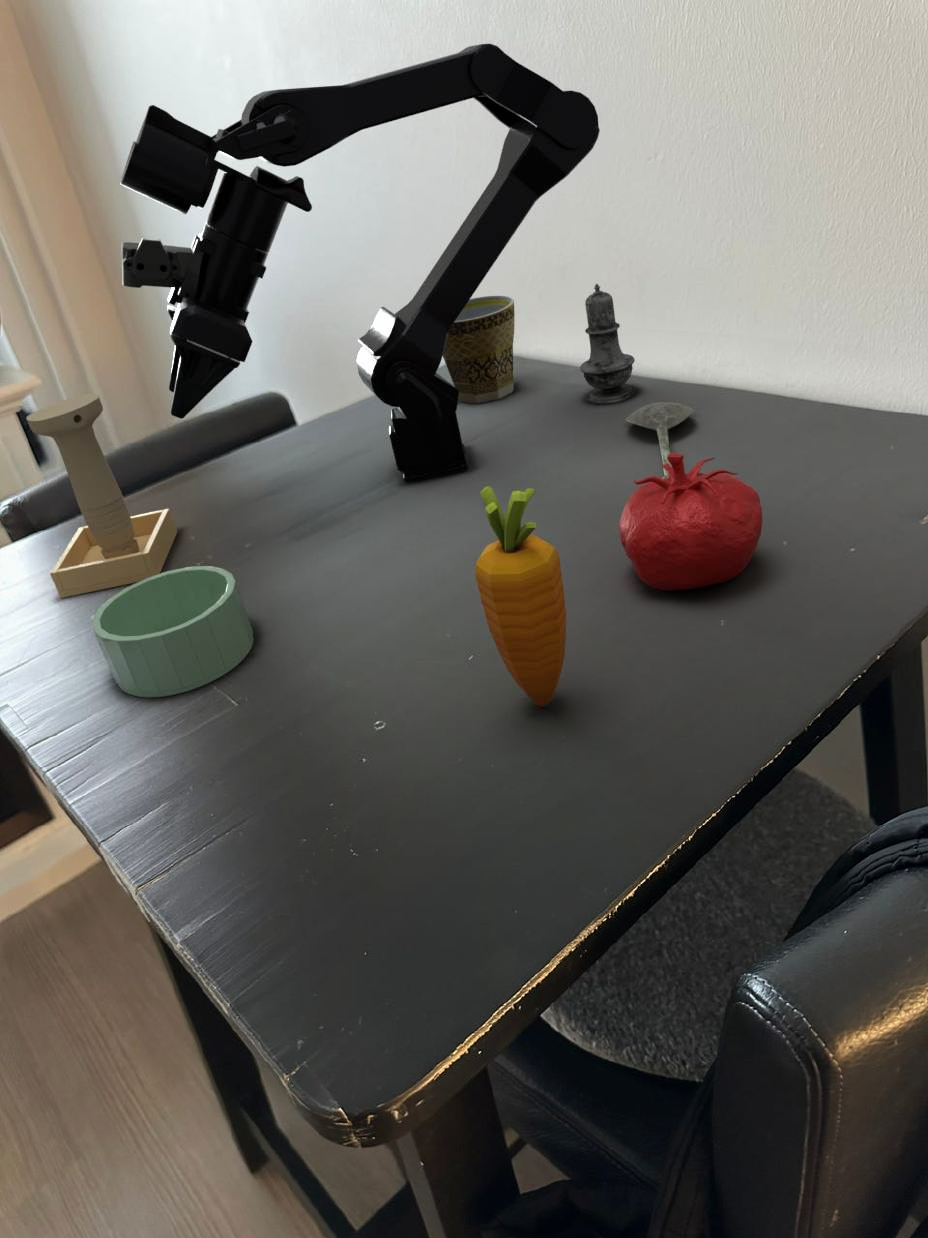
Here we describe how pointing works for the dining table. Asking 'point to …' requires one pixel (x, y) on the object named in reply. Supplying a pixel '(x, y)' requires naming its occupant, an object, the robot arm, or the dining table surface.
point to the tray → (93, 572)
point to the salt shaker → (605, 353)
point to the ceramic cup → (482, 349)
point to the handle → (88, 471)
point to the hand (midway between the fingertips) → (175, 403)
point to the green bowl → (174, 631)
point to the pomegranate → (690, 527)
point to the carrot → (523, 598)
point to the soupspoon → (661, 422)
